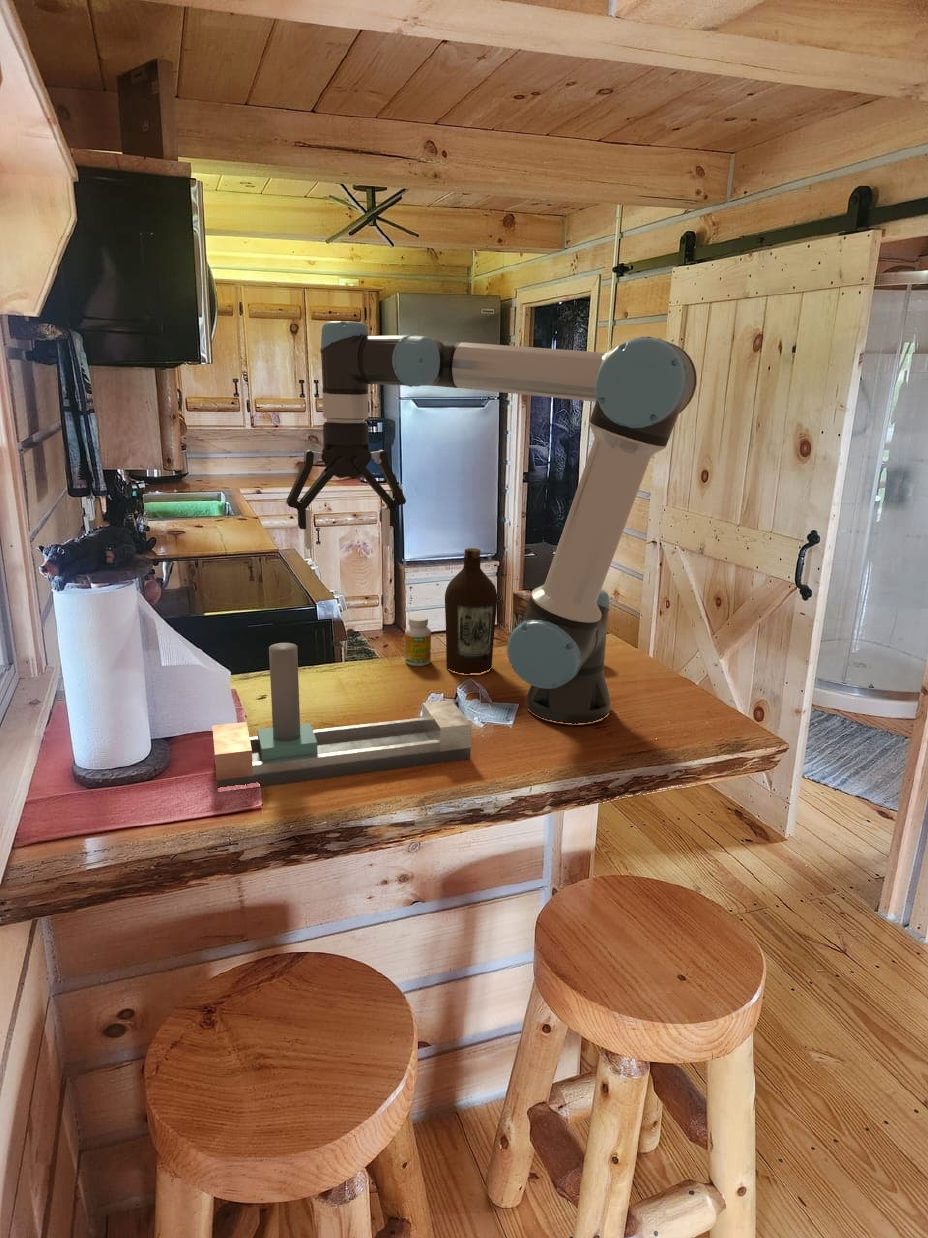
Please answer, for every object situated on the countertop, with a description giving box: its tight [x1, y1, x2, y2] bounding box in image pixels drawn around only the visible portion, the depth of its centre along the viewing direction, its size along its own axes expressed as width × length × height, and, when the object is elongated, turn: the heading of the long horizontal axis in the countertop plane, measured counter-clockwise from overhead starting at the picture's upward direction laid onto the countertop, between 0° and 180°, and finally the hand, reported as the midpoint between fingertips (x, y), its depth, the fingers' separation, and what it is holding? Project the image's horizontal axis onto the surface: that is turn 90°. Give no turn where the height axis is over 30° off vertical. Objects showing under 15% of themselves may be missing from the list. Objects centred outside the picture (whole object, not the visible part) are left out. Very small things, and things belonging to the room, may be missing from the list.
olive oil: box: [444, 547, 498, 674], centre depth 159 cm, size 11×11×25 cm
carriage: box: [256, 642, 318, 761], centre depth 117 cm, size 8×7×17 cm
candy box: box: [511, 589, 532, 633], centre depth 163 cm, size 9×4×15 cm, turn 23°
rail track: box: [211, 699, 472, 788], centre depth 122 cm, size 38×10×6 cm, turn 109°
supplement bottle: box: [404, 615, 432, 667], centre depth 164 cm, size 5×5×10 cm
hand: (347, 546), depth 137 cm, fingers open, 13 cm apart
